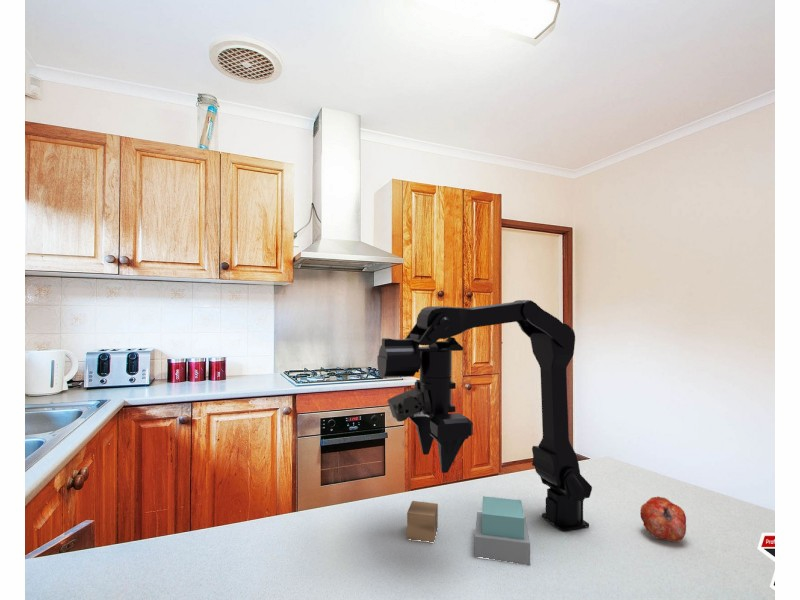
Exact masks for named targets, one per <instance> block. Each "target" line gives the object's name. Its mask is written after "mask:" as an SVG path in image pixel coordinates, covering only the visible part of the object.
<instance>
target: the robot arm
mask: <svg viewBox="0 0 800 600" xmlns="http://www.w3.org/2000/svg"><path fill="white" fill-rule="evenodd" d="M509 323H517V324H518V326H519V328H520V330H521V331H522V332H523V333H524V334H525V335H526V336H527V337H528V338H529V340H530V344H531V350H532V353H533V356H534V358H535V359H536V361H537V363H538V365H539V370H540V371H539V373H540V394H541V395H540V396H541V399H540V400H541V420H542V421H541V422H542V423H541V427H542V438H541V441H540V442H539V443H538V445H532V448H531V451H532V462H531V465H532V466H533V467H534V470H535V472H536V474H537V475H538V477H540V480H541V483H542V484H543V485H545V486H547V487H549V488H546V489H547V490H546V497H545V512H542V513H541V516H542V518H544V519H545V520H546V521H548V522H549V523H550V524H551V525H553V526H554V527H556V528H557V529H559V531H562V532H567V531H573V530H578V529H583V528H589V527H590V524H589V522H588V521H586V520H584V501H585V499H589V498H590V497H591V494H592V490H593V486H592V485H591V483H590V482H588V481H587V480H586V478H585V477H584V476H583V475H582V474H581V468H580V463H579V458H578V455H577V453H576V451H575V450H574V447H573V446H572V444H571V441H570V433H569V432H570V429H569V427H570V425H569V404H568V403H569V402H568V399H569V397H568V377H567V373H568V372H567V369H568V366H569V364H570V362H571V360H572V358H573V356H574V353H575V345H576V334H575V331H574V329H573V328H571V326H570V325H569V324H567V323H563V322H562V321H561V320H560V319H559V318H557V317H556V316H554V315H553V314H551V313H549V312H547V311H546V310H544V309H543V308H542V307H540V306H539V305H538V303H536V302H534V301H533V300H529V299H523V300H522V299H521V300H515V301H512V302H504V303H503V302H502V303H497V304H496V303H495V304H488V305H480V306H473V307H472V306H471V307H456V306H442V305H441V306H438V305H437V306H434V305H433V306H431V305H430V306H426V307H423V308H422V309H421V310H420V311H419V313H418V315H417V317H416V323H415V324H414V326H413V327H412V329H411V330H410V331H409V333H408V334H407V336H406V337H405V338H400V339H399V338H398V339H397V338H396V339H395V338H390V337H387V338H385V337H384V338H383V337H382V338H381V345H380V347H379V349H378V350H379V351H378V355H377V362H376V363H377V371H378V374H379V377H380V378H381V379H383V378H384V379H387V378H410V377H411V378H412V377H414V376H415V375H416V374H417V373H419V379H416V380H415V382H414V388H413V389H410V390H407V391H404V392H402V393H399V394H397V395H394V396H392V397H389V398H388V399H387V404H388V406H389V409H390V413H391V416H392V418H393V419H396V421H397V422H398V423H400V422H403V421H406V420H407V419H409V420H410V421H412V423H413V424H414V425H415V427H416V432H417V435H418V440H419V444H420V448H421V452H422V454H423V455H424V456H425V455H426V456H427V455H430V451H431V448H432V445H433V441H434V440H435V441H436V443H437V449H438V456H439V457H438V458H439V466H440V471H441V473H442V474H447V473H449V471H450V469H451V467H452V465H453V463H454V461H455V459H456V457H457V455H458V453H459V451H460V449H461V448H462V446H463V444H464V442H465V441H466V440H468V439H469V437H472V436H473V435H474V432H473V431H474V422H472V421H471V419H469V418H468V417H467V416H465V415H463V414H461V413H460V412H456V405H455V404H452V390H453V389H456V386H457V384H456V382H455V381H452V378H453V377H452V375H453V374H452V369H453V365H452V364H453V363H452V362H453V353H452V352H456V351H457V352H458V351H459V352H462V351H464V346H463V345H461V344H460V343H459V342H458V341H457V340H456V338H455V336H458V335H460V334H463V333H465V332H466V331H468V330H472V329H473V328H479V327H481V328H482V327H488V326H494V325H495V326H496V325H501V324H503V325H504V324H509ZM440 340H441V341H440Z"/></svg>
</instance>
